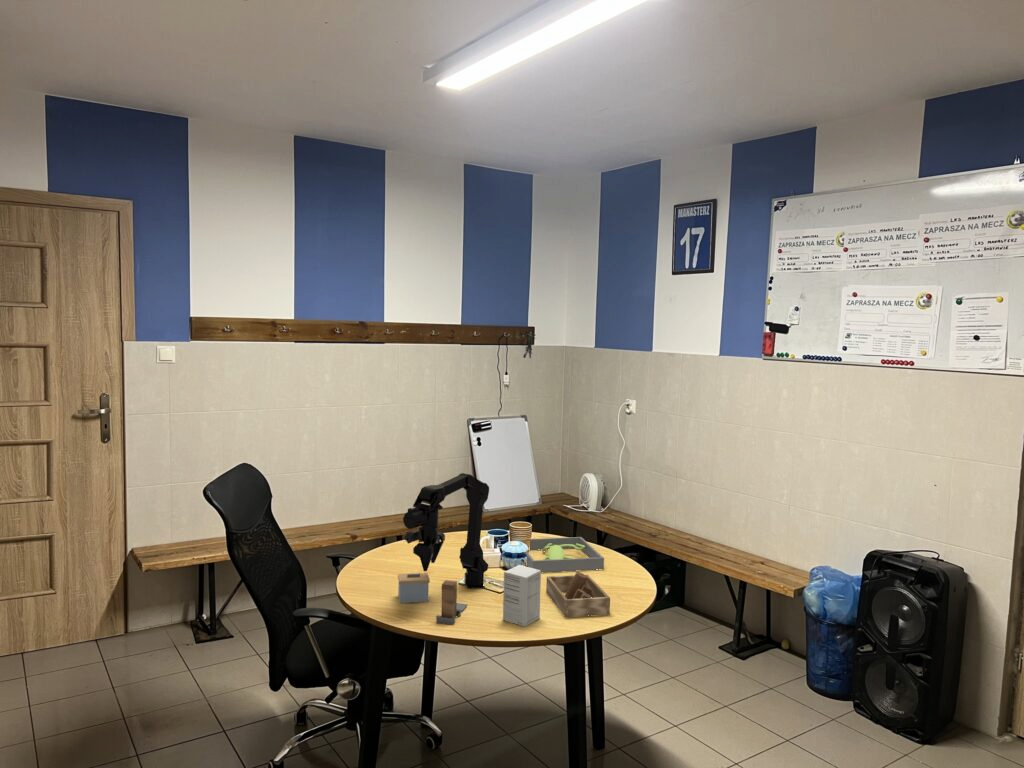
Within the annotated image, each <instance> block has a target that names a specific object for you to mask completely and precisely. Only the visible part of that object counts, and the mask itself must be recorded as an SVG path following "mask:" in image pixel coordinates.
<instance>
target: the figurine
mask: <svg viewBox="0 0 1024 768" xmlns="http://www.w3.org/2000/svg"><path fill="white" fill-rule="evenodd" d="M576 546H579V547H582V548H578V547H576ZM576 546H575V545H573V544H563V545H553V546H552V543H549V544H547V545H546V546H545V548H543V549H542V550H541V551H542V552H543V553H544V551H548V552H547V556H546V557H545V556H544V557H543V559H542V560H554V559H574V558H573V557H569V556H566V555H565V551H564V549H562V547H573V548H575V549H574V550H575V551H581V550H583V549H584V548H585V546H584V545H581V544H577V543H576ZM547 549H549V550H547Z"/></svg>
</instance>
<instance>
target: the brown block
mask: <svg viewBox="0 0 1024 768" xmlns="http://www.w3.org/2000/svg"><path fill="white" fill-rule="evenodd" d="M457 590H458V581H457V580H447V579H446V580H444V581H443V582H442V584H441V607H440V608H441V610H440V611H441V614H440V616H449V617H455V619H456V618H457V617H456V604H457V603H458V601H457V597H458V591H457Z"/></svg>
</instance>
